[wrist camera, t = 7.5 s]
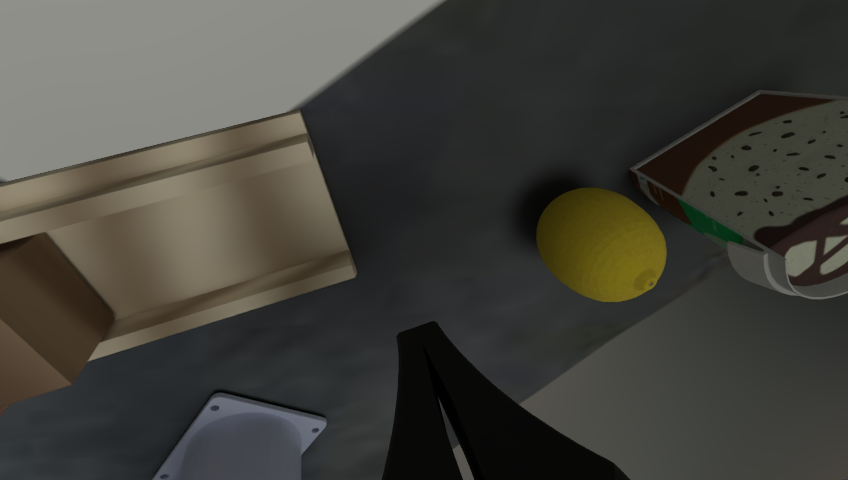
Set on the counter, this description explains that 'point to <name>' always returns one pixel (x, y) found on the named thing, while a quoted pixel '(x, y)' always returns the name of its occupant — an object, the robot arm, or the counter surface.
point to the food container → (765, 188)
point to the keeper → (44, 320)
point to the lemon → (601, 244)
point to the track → (189, 227)
